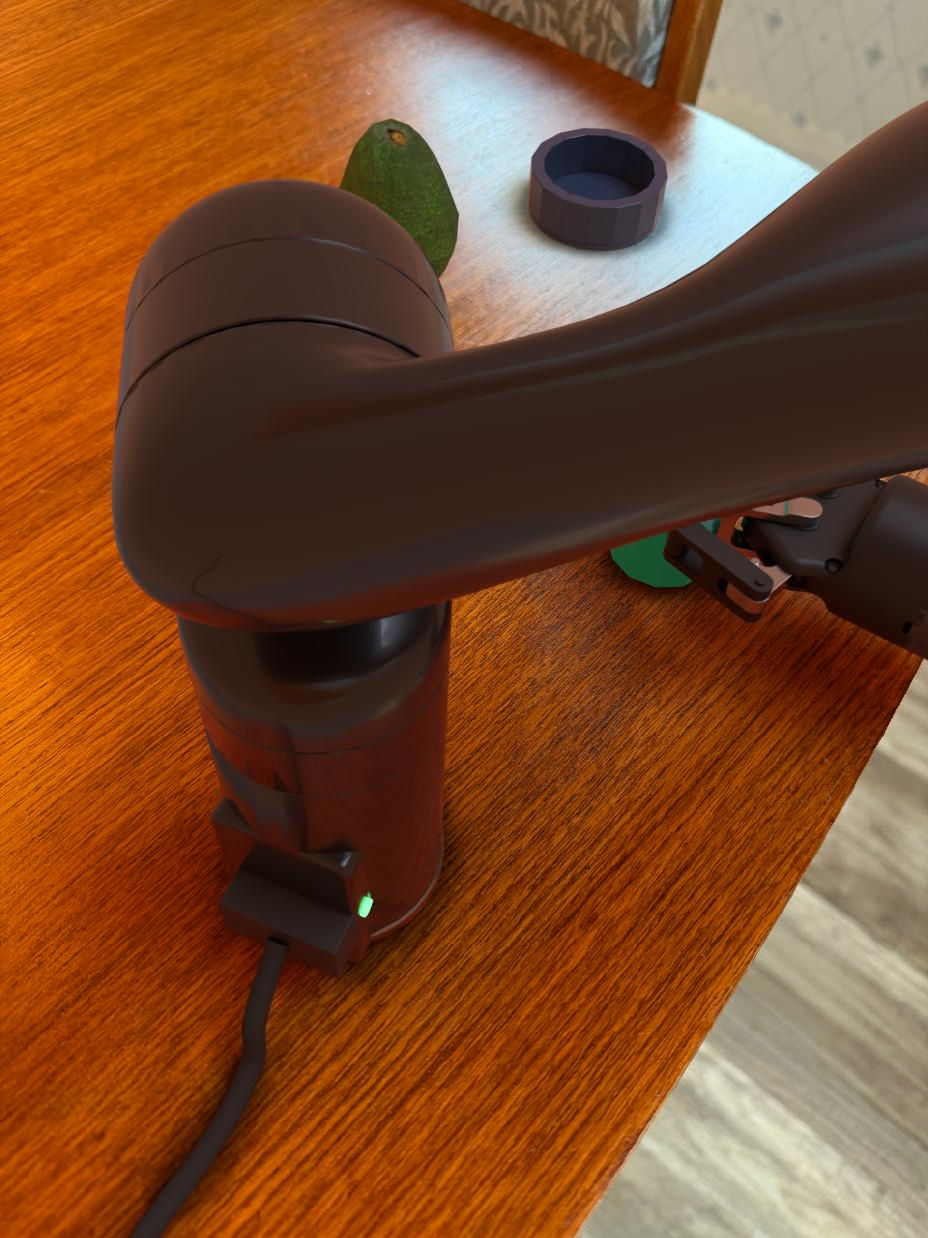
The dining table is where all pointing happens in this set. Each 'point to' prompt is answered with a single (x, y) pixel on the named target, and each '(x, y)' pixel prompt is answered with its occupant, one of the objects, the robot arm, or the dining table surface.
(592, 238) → the bowl
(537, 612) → the dining table surface
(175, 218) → the robot arm
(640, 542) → the candle
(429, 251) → the avocado
